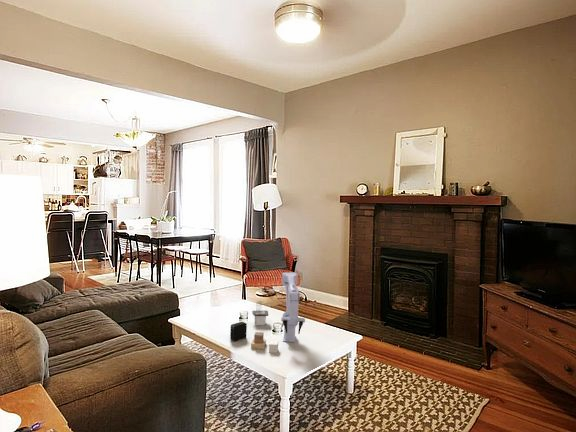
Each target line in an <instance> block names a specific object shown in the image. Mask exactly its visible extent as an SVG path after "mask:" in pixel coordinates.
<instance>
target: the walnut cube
mask: <svg viewBox="0 0 576 432" xmlns="http://www.w3.org/2000/svg"><path fill="white" fill-rule="evenodd" d="M253 335H254V337H253V339H254V343H262V342H263V339H264V332H262V331H255V333H254V334H253Z"/></svg>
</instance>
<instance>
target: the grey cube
mask: <svg viewBox="0 0 576 432" xmlns="http://www.w3.org/2000/svg"><path fill="white" fill-rule="evenodd" d="M278 351H279V341H276V340H270V341H269V343H268V353H272V354H273V353H275V354H277V353H278Z"/></svg>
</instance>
